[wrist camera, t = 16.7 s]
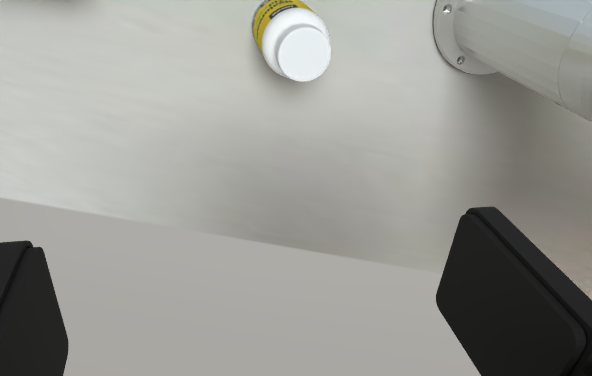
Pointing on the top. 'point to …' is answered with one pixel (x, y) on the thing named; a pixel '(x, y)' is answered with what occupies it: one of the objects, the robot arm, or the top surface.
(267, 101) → the top surface
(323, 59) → the supplement bottle
